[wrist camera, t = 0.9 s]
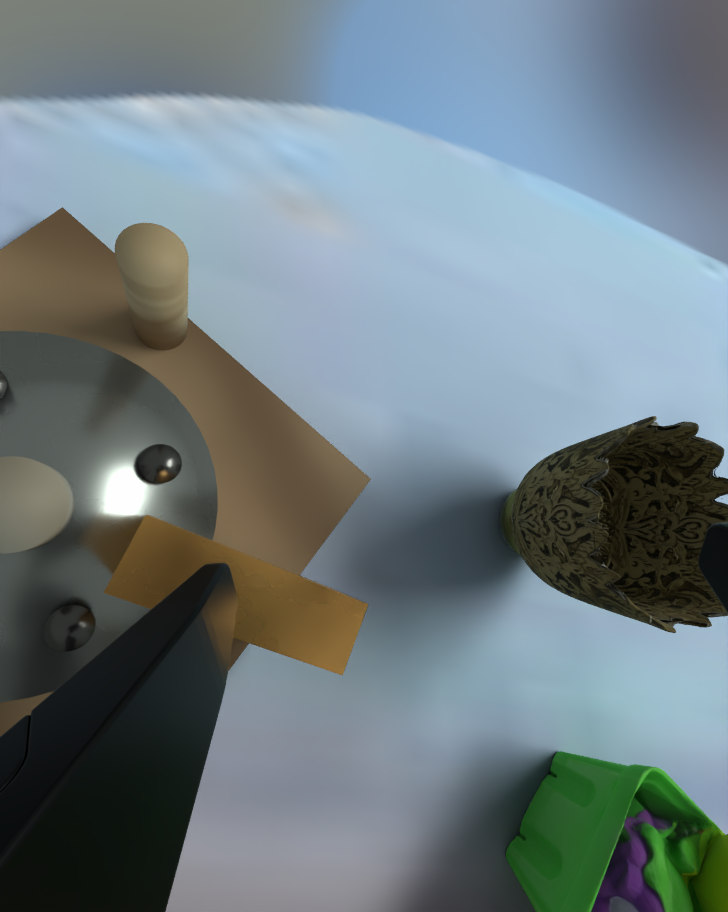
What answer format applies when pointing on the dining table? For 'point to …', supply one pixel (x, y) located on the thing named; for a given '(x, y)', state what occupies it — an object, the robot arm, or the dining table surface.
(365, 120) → the dining table surface
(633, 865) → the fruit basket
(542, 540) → the cup
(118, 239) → the dowel pin
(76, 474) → the flange plate
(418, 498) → the dining table surface
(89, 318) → the post board
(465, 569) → the dining table surface
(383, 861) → the dining table surface
